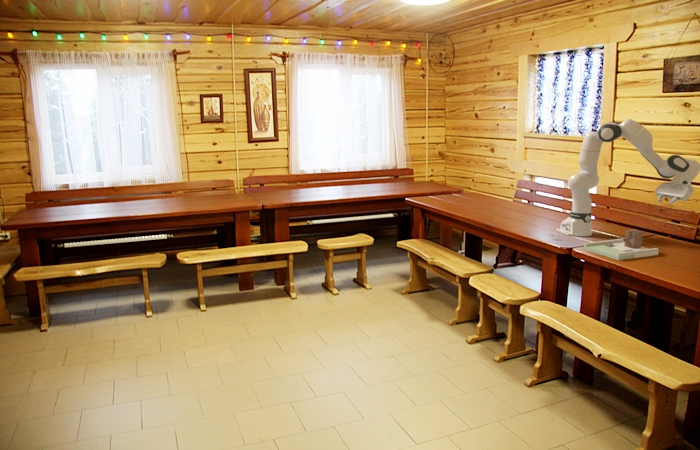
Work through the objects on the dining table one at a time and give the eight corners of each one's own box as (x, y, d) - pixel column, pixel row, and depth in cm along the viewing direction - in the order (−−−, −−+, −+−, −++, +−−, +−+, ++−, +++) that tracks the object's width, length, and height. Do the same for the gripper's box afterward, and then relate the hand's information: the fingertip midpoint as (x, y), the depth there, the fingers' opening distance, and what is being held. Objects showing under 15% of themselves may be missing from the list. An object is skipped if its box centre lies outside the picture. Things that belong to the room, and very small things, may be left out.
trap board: (583, 249, 326) (584, 243, 325) (621, 244, 336) (622, 238, 335) (618, 260, 303) (618, 253, 303) (658, 254, 313) (658, 248, 313)
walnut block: (624, 246, 324) (625, 230, 322) (632, 245, 326) (634, 229, 324) (633, 248, 319) (634, 232, 317) (641, 247, 321) (642, 231, 319)
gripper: (660, 178, 334) (646, 196, 333) (692, 183, 316) (677, 202, 314) (665, 185, 337) (651, 203, 335) (697, 190, 318) (682, 209, 317)
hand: (664, 202), depth 325 cm, fingers open, 6 cm apart
